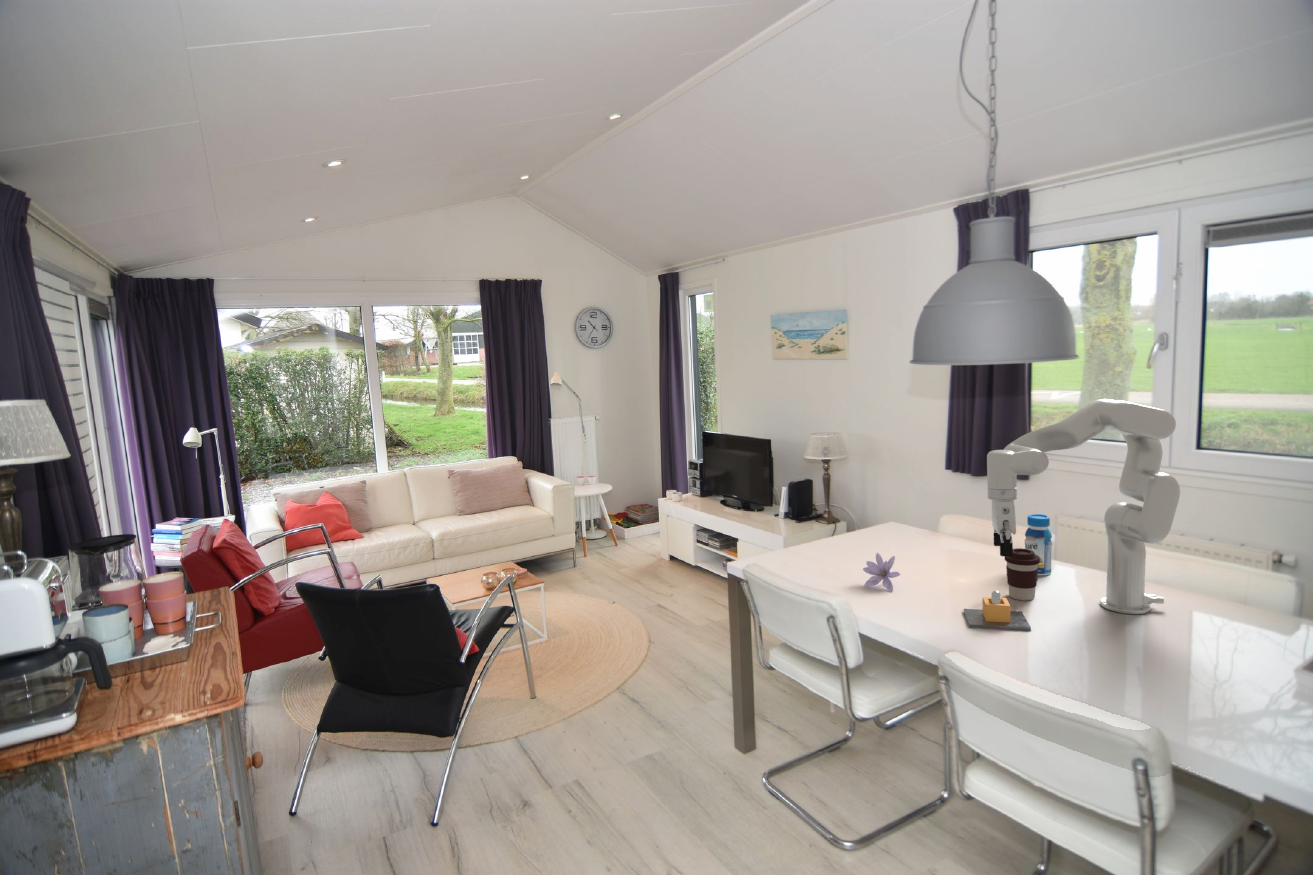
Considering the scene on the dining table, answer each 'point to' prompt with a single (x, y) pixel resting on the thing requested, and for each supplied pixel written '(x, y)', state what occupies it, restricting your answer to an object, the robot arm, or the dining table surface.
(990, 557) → the dining table surface
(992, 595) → the keeper
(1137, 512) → the robot arm
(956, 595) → the dining table surface
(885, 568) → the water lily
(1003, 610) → the orange hollow square block
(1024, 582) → the coffee cup
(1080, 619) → the dining table surface
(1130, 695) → the dining table surface
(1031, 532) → the beverage bottle
